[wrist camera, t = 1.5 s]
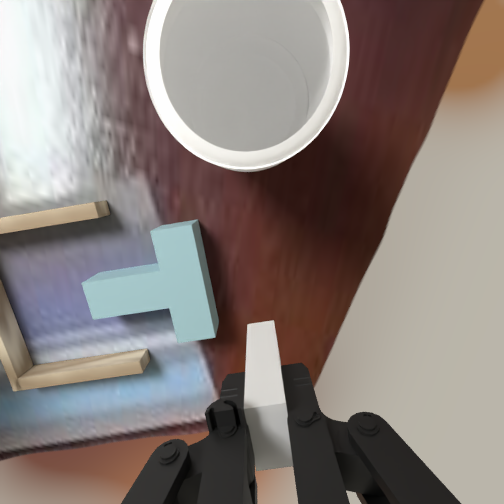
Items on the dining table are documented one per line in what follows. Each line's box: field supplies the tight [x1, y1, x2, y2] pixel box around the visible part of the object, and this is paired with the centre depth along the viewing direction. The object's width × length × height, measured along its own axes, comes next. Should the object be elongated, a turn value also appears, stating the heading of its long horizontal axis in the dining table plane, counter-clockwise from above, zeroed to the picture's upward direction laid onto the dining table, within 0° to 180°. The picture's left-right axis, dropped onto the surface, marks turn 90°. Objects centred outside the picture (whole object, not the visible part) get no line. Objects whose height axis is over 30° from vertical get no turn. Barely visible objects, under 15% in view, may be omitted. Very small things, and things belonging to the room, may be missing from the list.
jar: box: [143, 0, 349, 172], centre depth 22 cm, size 11×10×15 cm
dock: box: [0, 201, 150, 391], centre depth 33 cm, size 19×15×2 cm
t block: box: [82, 220, 219, 343], centre depth 32 cm, size 12×12×4 cm
